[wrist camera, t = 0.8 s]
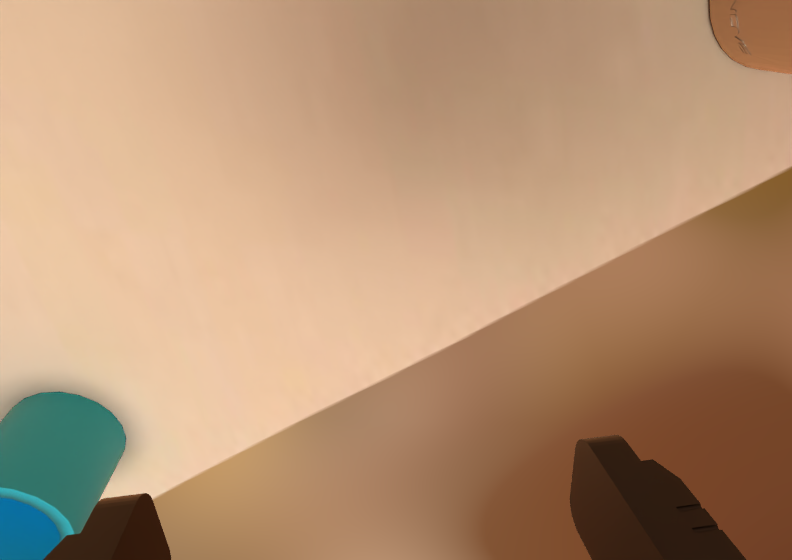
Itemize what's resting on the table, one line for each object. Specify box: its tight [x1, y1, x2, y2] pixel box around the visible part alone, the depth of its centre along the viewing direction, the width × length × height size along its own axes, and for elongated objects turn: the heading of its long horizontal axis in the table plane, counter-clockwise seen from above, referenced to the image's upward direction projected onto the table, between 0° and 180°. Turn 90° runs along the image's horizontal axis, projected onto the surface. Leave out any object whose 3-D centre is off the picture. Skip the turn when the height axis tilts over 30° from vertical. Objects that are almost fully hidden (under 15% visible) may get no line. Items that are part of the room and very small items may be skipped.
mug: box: [0, 392, 126, 560], centre depth 35 cm, size 12×8×8 cm
